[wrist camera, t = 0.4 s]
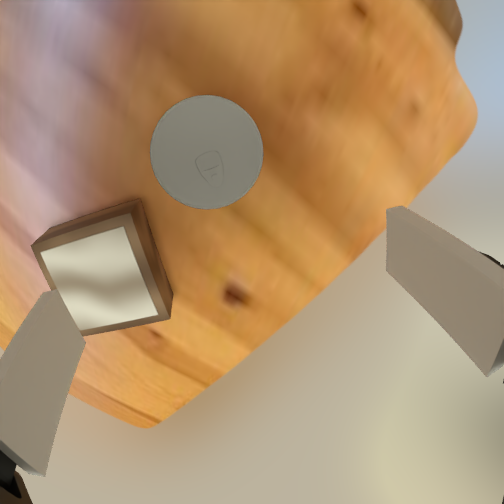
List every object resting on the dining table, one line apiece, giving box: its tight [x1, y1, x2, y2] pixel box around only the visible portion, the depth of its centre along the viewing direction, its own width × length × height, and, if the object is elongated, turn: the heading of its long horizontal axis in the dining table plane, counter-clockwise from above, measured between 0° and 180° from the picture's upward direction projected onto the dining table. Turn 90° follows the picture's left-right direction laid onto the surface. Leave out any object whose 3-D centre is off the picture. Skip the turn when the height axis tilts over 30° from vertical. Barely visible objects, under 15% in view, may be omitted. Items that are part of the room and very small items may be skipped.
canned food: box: [150, 95, 263, 209], centre depth 24 cm, size 8×8×11 cm
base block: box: [31, 199, 173, 336], centre depth 31 cm, size 12×12×5 cm
